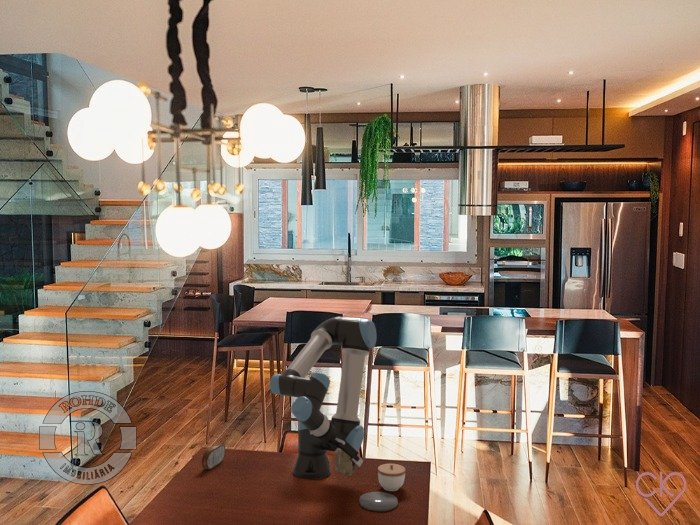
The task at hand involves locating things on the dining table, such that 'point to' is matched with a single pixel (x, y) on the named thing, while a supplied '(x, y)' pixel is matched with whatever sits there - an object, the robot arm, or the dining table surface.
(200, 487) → the dining table surface
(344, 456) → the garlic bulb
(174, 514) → the dining table surface
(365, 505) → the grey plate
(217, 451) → the tin
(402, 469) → the lidded jar
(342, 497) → the dining table surface
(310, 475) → the robot arm
